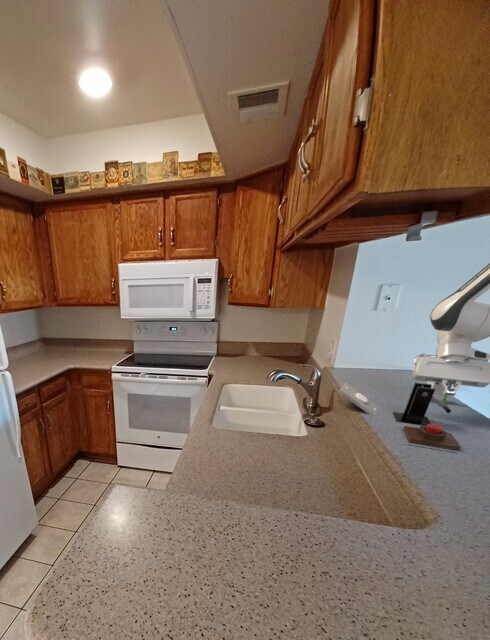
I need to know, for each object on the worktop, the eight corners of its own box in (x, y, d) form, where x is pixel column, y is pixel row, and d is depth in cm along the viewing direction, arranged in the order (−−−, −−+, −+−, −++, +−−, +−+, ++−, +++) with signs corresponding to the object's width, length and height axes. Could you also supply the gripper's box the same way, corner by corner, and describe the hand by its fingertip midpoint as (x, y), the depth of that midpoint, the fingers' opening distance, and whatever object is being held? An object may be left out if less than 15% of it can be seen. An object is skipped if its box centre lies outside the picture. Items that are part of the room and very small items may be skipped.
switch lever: (442, 409, 107) (449, 404, 105) (446, 415, 103) (454, 409, 101) (414, 388, 108) (420, 383, 106) (417, 394, 104) (424, 388, 102)
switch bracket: (425, 419, 111) (440, 384, 105) (431, 429, 105) (447, 392, 99) (391, 414, 115) (404, 380, 109) (395, 424, 109) (408, 387, 102)
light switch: (378, 414, 111) (343, 387, 115) (364, 425, 115) (330, 399, 119) (382, 406, 117) (348, 380, 121) (369, 417, 121) (336, 392, 125)
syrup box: (425, 403, 124) (441, 366, 117) (420, 397, 129) (434, 361, 122) (443, 405, 122) (460, 367, 115) (437, 399, 127) (453, 362, 120)
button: (438, 430, 97) (440, 424, 96) (441, 435, 94) (444, 430, 93) (423, 427, 98) (426, 422, 98) (426, 433, 96) (429, 427, 95)
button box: (448, 439, 100) (453, 427, 98) (457, 453, 92) (463, 441, 90) (401, 432, 104) (406, 420, 102) (407, 445, 97) (412, 433, 95)
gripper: (418, 348, 109) (414, 385, 106) (497, 354, 102) (495, 395, 98) (411, 358, 115) (407, 394, 111) (485, 365, 107) (482, 403, 104)
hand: (449, 394), depth 105 cm, fingers closed
